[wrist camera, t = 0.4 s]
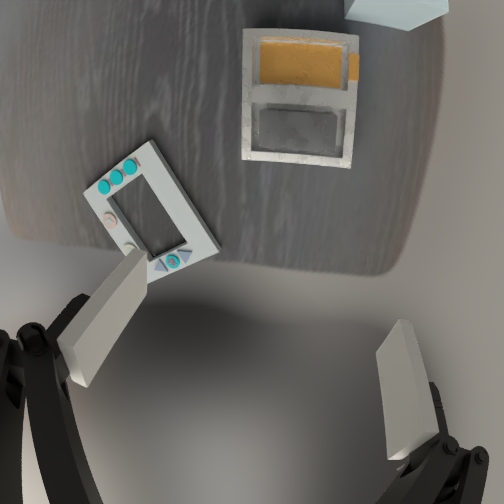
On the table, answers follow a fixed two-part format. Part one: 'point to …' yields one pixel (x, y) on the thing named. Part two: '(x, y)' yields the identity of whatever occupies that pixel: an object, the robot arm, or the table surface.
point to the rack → (299, 96)
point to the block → (395, 12)
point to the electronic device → (171, 198)
